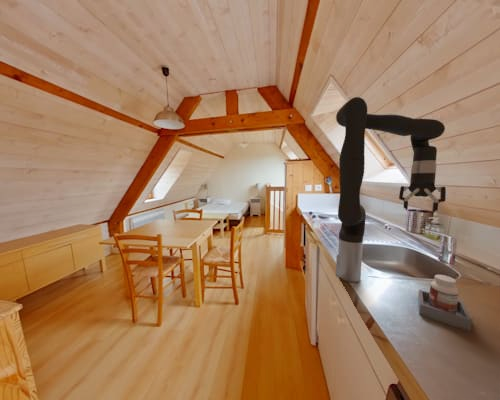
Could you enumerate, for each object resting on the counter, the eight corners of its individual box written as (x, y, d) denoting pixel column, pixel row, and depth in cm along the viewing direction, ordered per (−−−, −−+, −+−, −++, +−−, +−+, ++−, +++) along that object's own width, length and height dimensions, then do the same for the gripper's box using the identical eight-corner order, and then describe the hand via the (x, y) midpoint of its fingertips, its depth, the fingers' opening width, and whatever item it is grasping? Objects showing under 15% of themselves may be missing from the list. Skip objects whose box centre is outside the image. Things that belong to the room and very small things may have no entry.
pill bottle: (428, 301, 64) (431, 271, 63) (454, 310, 59) (458, 277, 58) (428, 310, 59) (431, 278, 58) (456, 320, 55) (461, 285, 54)
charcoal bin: (419, 314, 59) (420, 304, 58) (418, 298, 67) (418, 289, 66) (470, 332, 52) (471, 320, 51) (462, 312, 60) (463, 301, 59)
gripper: (400, 172, 78) (397, 210, 80) (449, 171, 69) (445, 213, 71) (401, 173, 84) (398, 208, 86) (446, 172, 75) (442, 211, 76)
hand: (419, 210), depth 78 cm, fingers open, 8 cm apart
